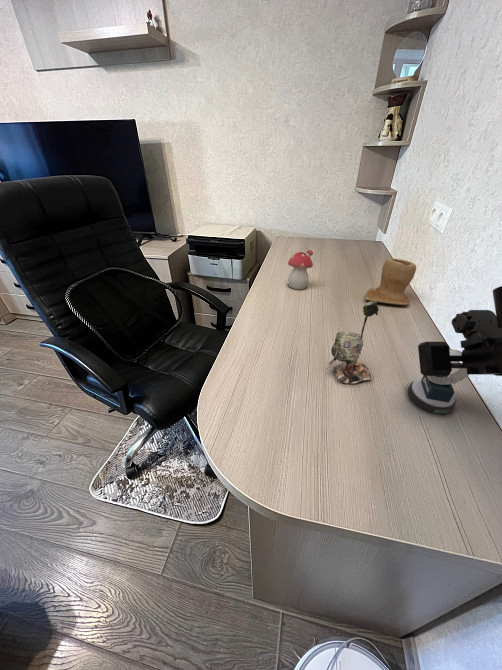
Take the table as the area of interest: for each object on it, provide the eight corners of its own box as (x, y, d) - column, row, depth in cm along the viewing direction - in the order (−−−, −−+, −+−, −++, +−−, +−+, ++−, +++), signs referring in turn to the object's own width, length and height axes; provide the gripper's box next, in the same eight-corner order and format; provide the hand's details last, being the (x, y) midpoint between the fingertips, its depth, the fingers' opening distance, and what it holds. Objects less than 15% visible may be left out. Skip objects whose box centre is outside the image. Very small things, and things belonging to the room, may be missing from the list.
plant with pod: (323, 360, 74) (337, 293, 63) (368, 366, 72) (390, 297, 61) (324, 382, 68) (339, 311, 56) (373, 388, 66) (399, 316, 54)
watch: (411, 379, 65) (428, 341, 58) (450, 386, 63) (472, 347, 57) (416, 396, 60) (435, 358, 54) (458, 404, 59) (483, 365, 52)
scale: (460, 414, 60) (466, 406, 58) (419, 414, 60) (423, 406, 58) (437, 384, 67) (442, 376, 66) (400, 384, 67) (404, 376, 66)
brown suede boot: (404, 295, 106) (418, 256, 97) (409, 310, 96) (425, 269, 88) (363, 290, 109) (372, 252, 101) (363, 304, 100) (374, 264, 91)
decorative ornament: (311, 285, 113) (316, 248, 104) (307, 292, 108) (312, 254, 99) (289, 281, 116) (292, 245, 107) (284, 288, 111) (287, 250, 102)
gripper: (559, 305, 45) (481, 325, 60) (444, 305, 45) (395, 325, 60) (573, 375, 43) (488, 377, 58) (453, 374, 43) (399, 376, 58)
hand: (442, 362), depth 59 cm, fingers open, 9 cm apart
